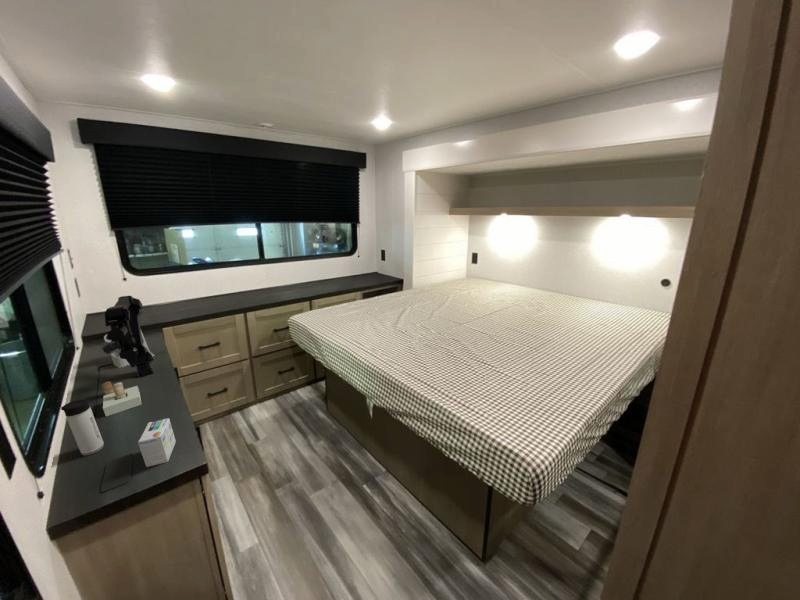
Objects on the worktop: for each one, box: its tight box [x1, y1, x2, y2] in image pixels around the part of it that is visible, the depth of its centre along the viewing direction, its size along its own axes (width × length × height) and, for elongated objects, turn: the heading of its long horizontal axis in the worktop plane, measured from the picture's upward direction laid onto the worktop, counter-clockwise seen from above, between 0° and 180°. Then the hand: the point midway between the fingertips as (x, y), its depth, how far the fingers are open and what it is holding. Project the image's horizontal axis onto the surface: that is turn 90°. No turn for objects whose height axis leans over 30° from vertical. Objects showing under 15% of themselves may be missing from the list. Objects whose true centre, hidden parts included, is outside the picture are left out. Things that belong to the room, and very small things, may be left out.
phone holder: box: [103, 330, 155, 369], centre depth 181 cm, size 17×10×18 cm, turn 144°
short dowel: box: [101, 381, 115, 396], centre depth 150 cm, size 3×3×6 cm
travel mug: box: [60, 399, 105, 456], centre depth 115 cm, size 6×7×20 cm
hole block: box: [102, 385, 142, 417], centre depth 143 cm, size 12×12×4 cm
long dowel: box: [112, 382, 126, 400], centre depth 143 cm, size 3×3×10 cm
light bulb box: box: [137, 417, 177, 468], centre depth 113 cm, size 11×7×11 cm, turn 21°
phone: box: [100, 453, 134, 494], centre depth 108 cm, size 7×1×15 cm
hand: (132, 363), depth 154 cm, fingers open, 9 cm apart
